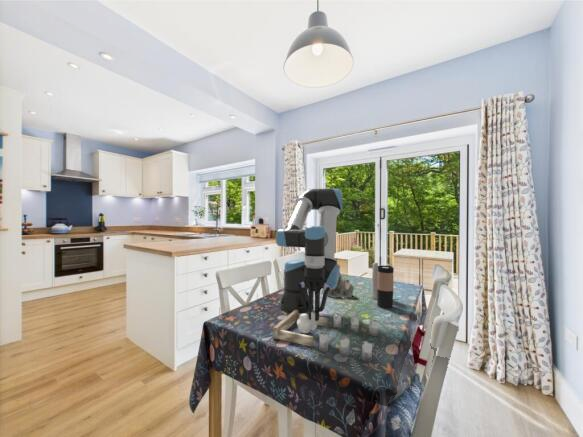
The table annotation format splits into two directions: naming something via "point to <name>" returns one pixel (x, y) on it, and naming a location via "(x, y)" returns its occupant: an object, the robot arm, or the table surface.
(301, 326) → the grey faceted vase
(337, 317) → the spacer field
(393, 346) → the table surface
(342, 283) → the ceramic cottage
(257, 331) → the table surface
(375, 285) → the candle
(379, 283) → the travel mug
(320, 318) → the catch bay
